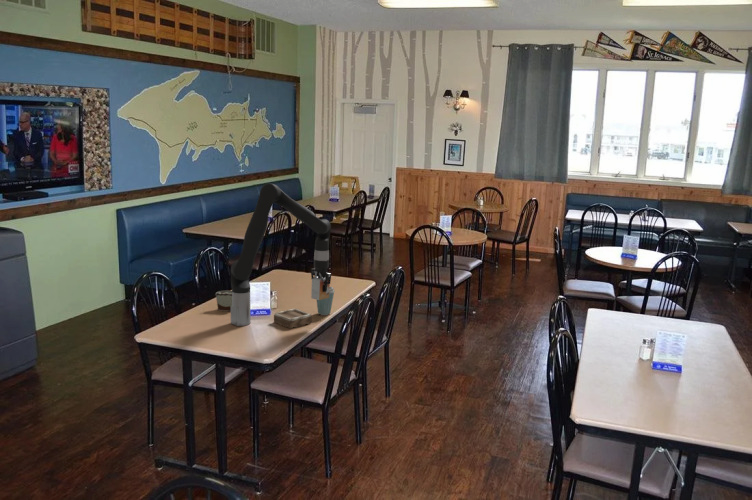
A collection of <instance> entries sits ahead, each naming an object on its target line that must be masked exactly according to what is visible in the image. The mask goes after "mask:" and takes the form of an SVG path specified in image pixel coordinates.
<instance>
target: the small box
mask: <svg viewBox="0 0 752 500" xmlns="http://www.w3.org/2000/svg"><path fill="white" fill-rule="evenodd" d="M323 279H325V278H323ZM324 282H325V280H324ZM330 285H331V283H330V284H328V285H327V291H326V292H323V281H322V280H321V278H313V279H311V291H310V292H311V296H310V297H311V299H313V300H316V301H317V300H321V299H325V298H329V287H331V286H330Z"/></svg>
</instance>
